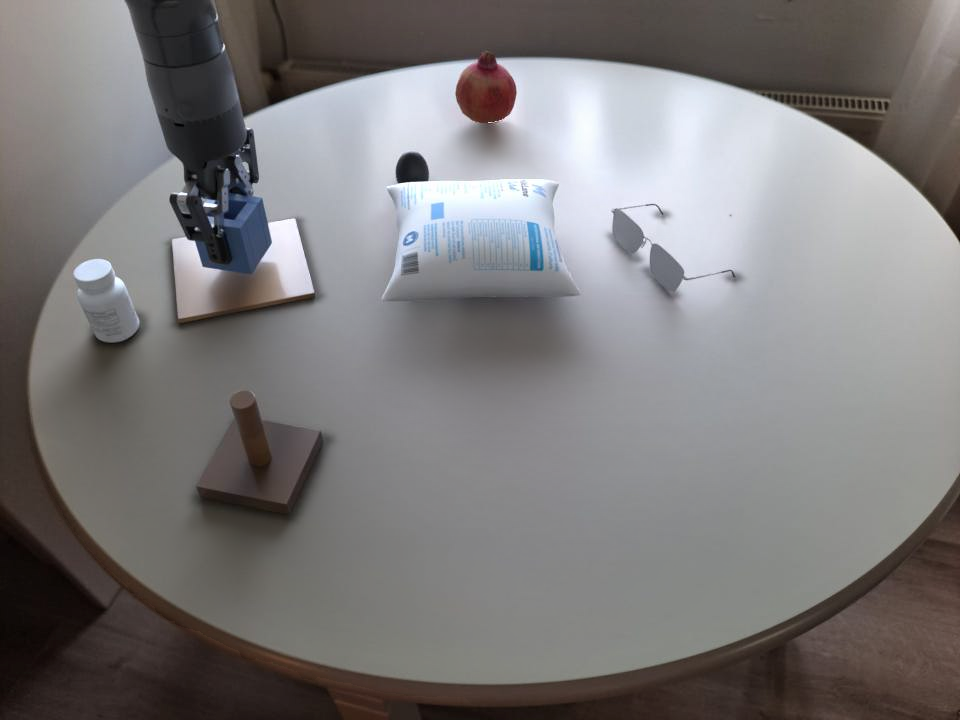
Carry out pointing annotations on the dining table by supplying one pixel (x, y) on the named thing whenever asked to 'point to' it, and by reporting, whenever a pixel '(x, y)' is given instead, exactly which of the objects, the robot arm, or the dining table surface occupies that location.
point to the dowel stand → (259, 460)
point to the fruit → (486, 90)
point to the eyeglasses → (660, 259)
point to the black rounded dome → (411, 168)
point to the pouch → (477, 241)
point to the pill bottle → (105, 301)
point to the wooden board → (241, 278)
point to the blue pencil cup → (241, 234)
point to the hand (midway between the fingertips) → (234, 243)
